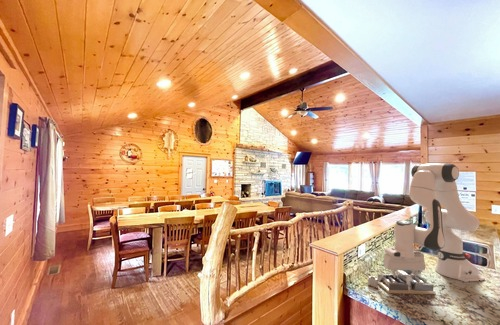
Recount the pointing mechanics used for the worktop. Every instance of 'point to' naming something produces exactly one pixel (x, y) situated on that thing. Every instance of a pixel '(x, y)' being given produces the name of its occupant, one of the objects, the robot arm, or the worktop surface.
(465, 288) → the worktop surface
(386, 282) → the metal roller rack
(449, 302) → the worktop surface
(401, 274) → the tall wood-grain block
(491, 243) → the worktop surface
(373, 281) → the lighter
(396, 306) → the worktop surface
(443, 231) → the robot arm
